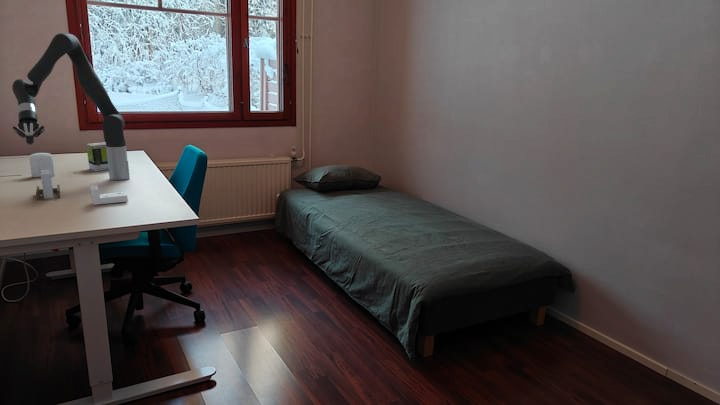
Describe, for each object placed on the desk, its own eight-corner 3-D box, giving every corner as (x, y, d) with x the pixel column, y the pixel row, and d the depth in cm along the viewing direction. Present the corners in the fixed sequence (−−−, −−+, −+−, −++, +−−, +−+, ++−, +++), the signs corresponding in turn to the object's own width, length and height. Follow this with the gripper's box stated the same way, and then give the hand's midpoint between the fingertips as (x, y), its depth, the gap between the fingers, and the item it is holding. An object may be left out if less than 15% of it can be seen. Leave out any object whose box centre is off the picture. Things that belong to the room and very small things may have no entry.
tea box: (116, 166, 287) (114, 141, 283) (122, 168, 280) (120, 143, 276) (88, 168, 276) (85, 143, 273) (94, 171, 269) (91, 145, 266)
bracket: (93, 206, 202) (91, 189, 200) (92, 203, 208) (90, 186, 206) (128, 203, 209) (126, 186, 207) (125, 199, 215) (123, 183, 213)
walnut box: (60, 192, 224) (59, 184, 223) (60, 198, 213) (59, 190, 212) (38, 194, 219) (37, 186, 218) (37, 201, 208) (36, 192, 207)
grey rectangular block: (53, 193, 220) (50, 169, 218) (53, 198, 212) (50, 173, 209) (44, 194, 219) (41, 170, 216) (44, 199, 210) (40, 174, 208)
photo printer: (54, 174, 259) (51, 151, 256) (55, 176, 256) (52, 152, 253) (31, 176, 254) (28, 153, 250) (31, 177, 250) (28, 154, 247)
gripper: (9, 109, 225) (11, 139, 218) (43, 109, 231) (46, 137, 224) (12, 120, 231) (14, 149, 224) (45, 119, 237) (48, 147, 230)
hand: (30, 143), depth 224 cm, fingers closed
